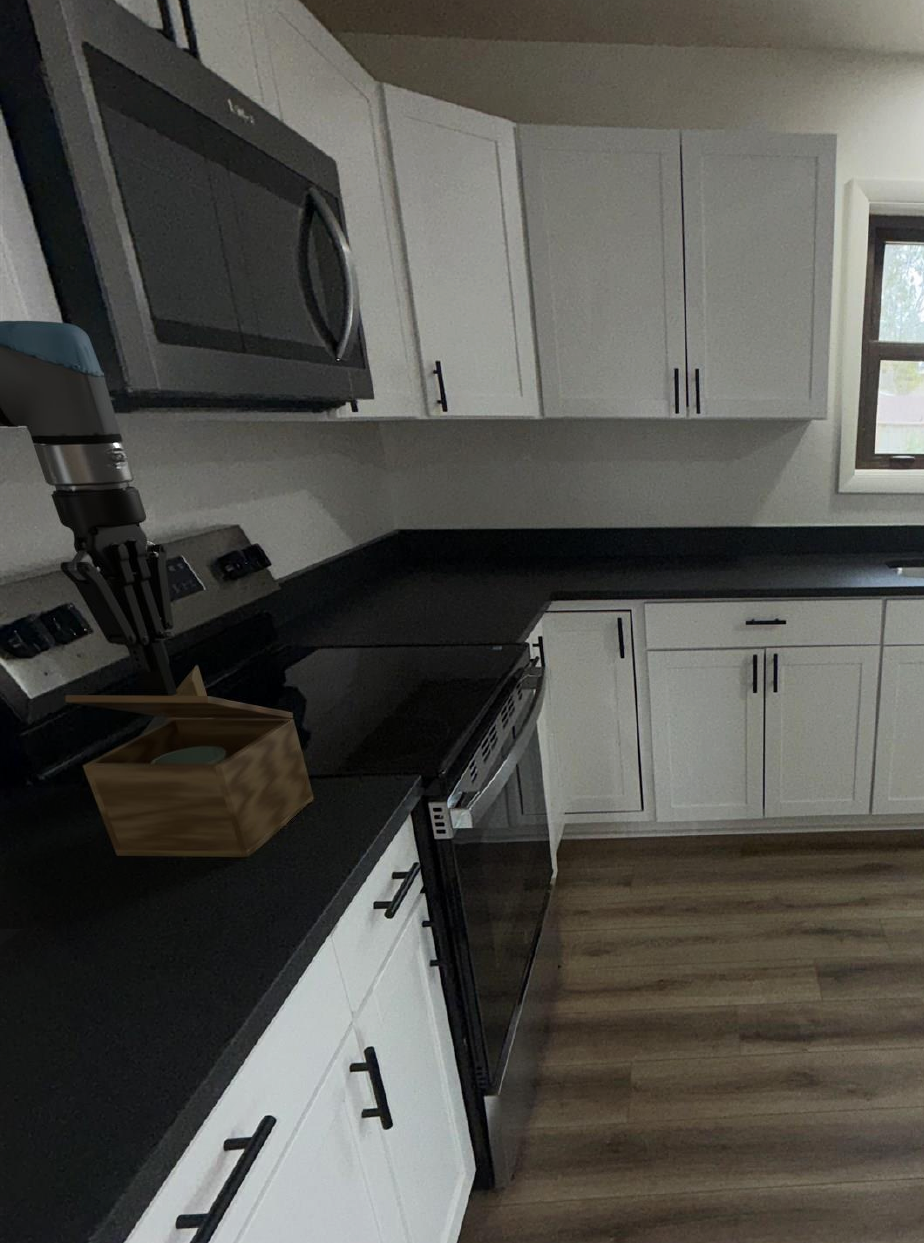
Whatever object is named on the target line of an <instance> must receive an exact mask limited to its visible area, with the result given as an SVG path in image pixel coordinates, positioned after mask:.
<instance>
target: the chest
mask: <svg viewBox="0 0 924 1243" xmlns="http://www.w3.org/2000/svg"><path fill="white" fill-rule="evenodd" d="M141 734H142V733H141ZM141 734H140V735H138V736H136V737H134V738H132V739H130V740H129V741H127V742H125V743H123V744H121V745H119V746H117V747H115V748H114V749H112V750H109V751H108V752H105V753H104V754H102V755H100V756H98V757H96V758H94V759H93V760H90V761H89V762H87V763H84V764H83V765H82V768H83V770H84V773H85V776H86V779H87V781H88V784H89V786H90V789H91V792H92V794H93V797H94V799H95V802H96V804H97V807H98V811H99V812H100V815H101V818H102V820H103V823H104V825H105V828H106V831H107V833H108V836H109V839H110V842H111V844H112V847H113V850H114V852H115V854H116V856H117V857H188V858H189V857H193V858H194V857H197V858H198V857H199V858H200V857H201V858H250V856H252V855H253V854H255V852H256V851H258V850H259V849H260V848H261V847H262V846H263V845H265V843H267V842H268V841H269V840H270V839H271V838H273V837H274V836H275V835H276V834H277V833H279V831H281V830H282V829H283V828H284V827H286V825H288V824H289V823H290V822H291V821H292V820H293V819H294V818H295V817H294V816H296V815H297V814H298V813H299V812H300V810H303V808H304V807H306V805H307V804H308V803H310V802H312V801H313V799H314V800H315V797H314V793H313V791H312V786H311V782H310V778H309V774H308V771H307V770H308V769H307V766H306V763H305V758H304V755H303V750H302V747H301V743H300V740H299V739H300V738H299V735H298V730H297V727H296V724H295V720H294V718H293V719H257V718H214V719H191V718H179V719H178V718H173V719H171V720H169V721H167V722H165V723H163V724H161V725H159V726H157V727H155V728H154V729H152V730H150V731H148V732H146V733H144V734H142V735H141ZM197 746H217V747H222V748H224V749H225V751H226V752H227V756H228V758H227V759H226V760H224V761H223V762H221V763H220V764H150V763H151V762H152V761H153V760H154V759H156V758H158V757H160V756H161V755H164V754H167V753H170V752H172V751H176V750H180V749H184V748H189V747H197ZM313 802H314V801H313ZM313 802H312V803H313ZM306 808H307V807H306ZM303 811H304V810H303ZM300 813H301V812H300ZM300 813H299V814H300ZM299 814H298V815H299ZM298 815H297V816H298ZM297 816H296V817H297ZM293 817H294V818H293ZM292 818H293V819H292ZM291 819H292V820H291ZM290 820H291V821H290ZM289 821H290V822H289ZM288 822H289V823H288ZM287 823H288V824H287ZM283 826H284V827H283ZM280 829H281V830H280ZM273 835H274V836H273Z"/></svg>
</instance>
